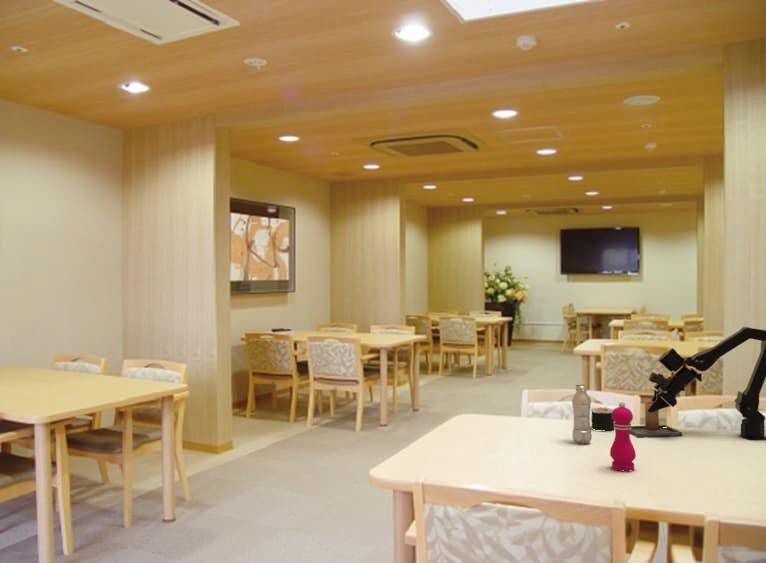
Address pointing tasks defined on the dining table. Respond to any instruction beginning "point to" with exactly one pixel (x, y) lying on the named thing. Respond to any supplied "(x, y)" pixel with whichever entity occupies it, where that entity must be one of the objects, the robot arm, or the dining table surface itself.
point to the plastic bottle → (581, 415)
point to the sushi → (602, 419)
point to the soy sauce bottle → (651, 417)
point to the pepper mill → (622, 439)
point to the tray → (654, 432)
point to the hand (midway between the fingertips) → (647, 410)
